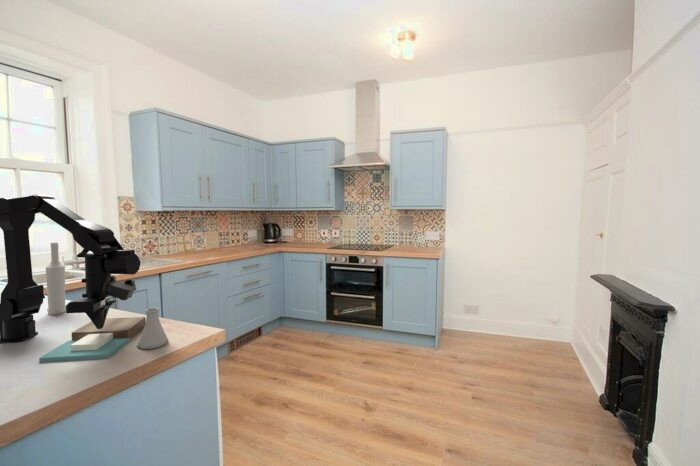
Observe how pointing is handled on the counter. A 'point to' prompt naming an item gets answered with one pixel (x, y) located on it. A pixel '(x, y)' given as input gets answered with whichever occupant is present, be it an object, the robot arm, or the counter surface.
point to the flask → (152, 331)
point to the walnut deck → (113, 328)
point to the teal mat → (84, 351)
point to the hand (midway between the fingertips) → (100, 328)
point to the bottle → (55, 283)
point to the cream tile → (91, 341)
